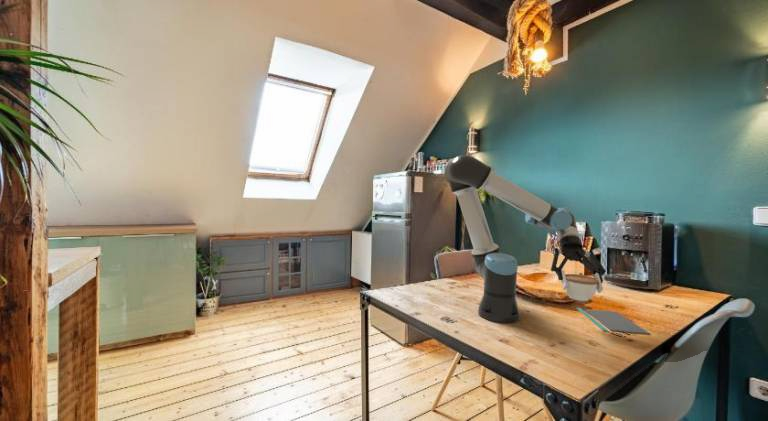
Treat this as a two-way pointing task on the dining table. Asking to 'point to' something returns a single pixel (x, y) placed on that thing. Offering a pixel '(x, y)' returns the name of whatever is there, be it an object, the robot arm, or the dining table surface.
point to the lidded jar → (581, 286)
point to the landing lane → (613, 321)
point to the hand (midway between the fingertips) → (582, 289)
